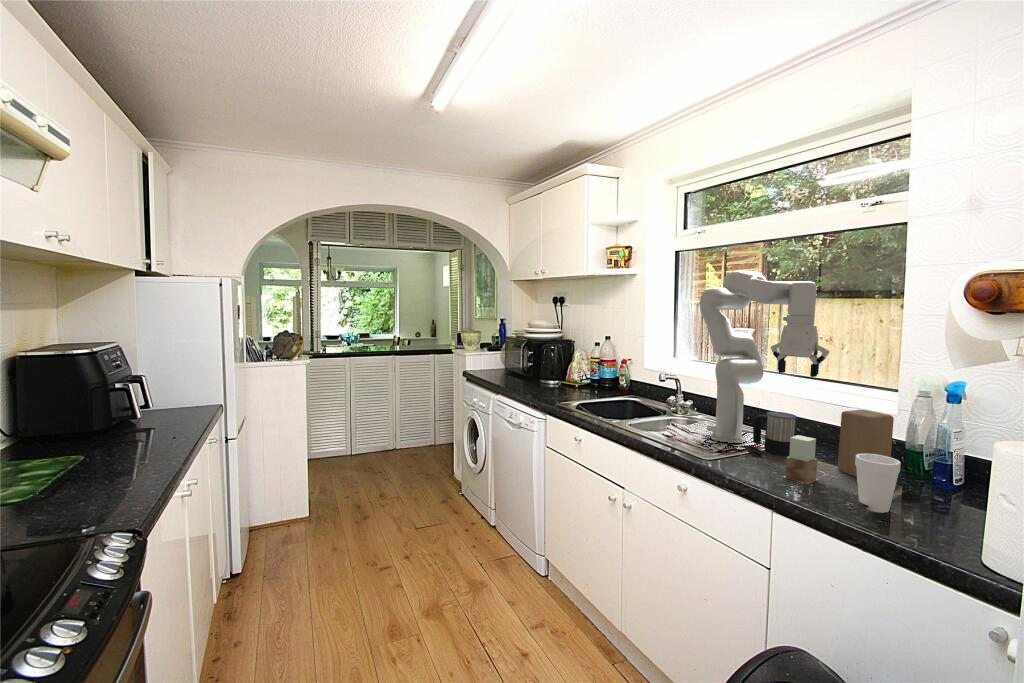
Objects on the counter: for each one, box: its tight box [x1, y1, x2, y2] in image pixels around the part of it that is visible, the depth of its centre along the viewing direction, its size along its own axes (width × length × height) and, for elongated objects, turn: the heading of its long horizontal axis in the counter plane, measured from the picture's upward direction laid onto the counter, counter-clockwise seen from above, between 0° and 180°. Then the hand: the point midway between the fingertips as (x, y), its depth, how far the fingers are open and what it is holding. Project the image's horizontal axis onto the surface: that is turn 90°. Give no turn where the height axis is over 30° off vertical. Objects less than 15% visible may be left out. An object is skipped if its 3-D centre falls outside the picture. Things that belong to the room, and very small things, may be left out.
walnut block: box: [785, 456, 818, 484], centre depth 151 cm, size 6×6×6 cm
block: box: [837, 409, 895, 477], centre depth 156 cm, size 10×10×20 cm
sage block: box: [788, 434, 817, 462], centre depth 151 cm, size 5×5×6 cm
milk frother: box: [745, 411, 797, 459], centre depth 176 cm, size 14×16×15 cm
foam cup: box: [855, 454, 902, 514], centre depth 133 cm, size 10×9×13 cm
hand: (797, 374), depth 163 cm, fingers open, 9 cm apart
